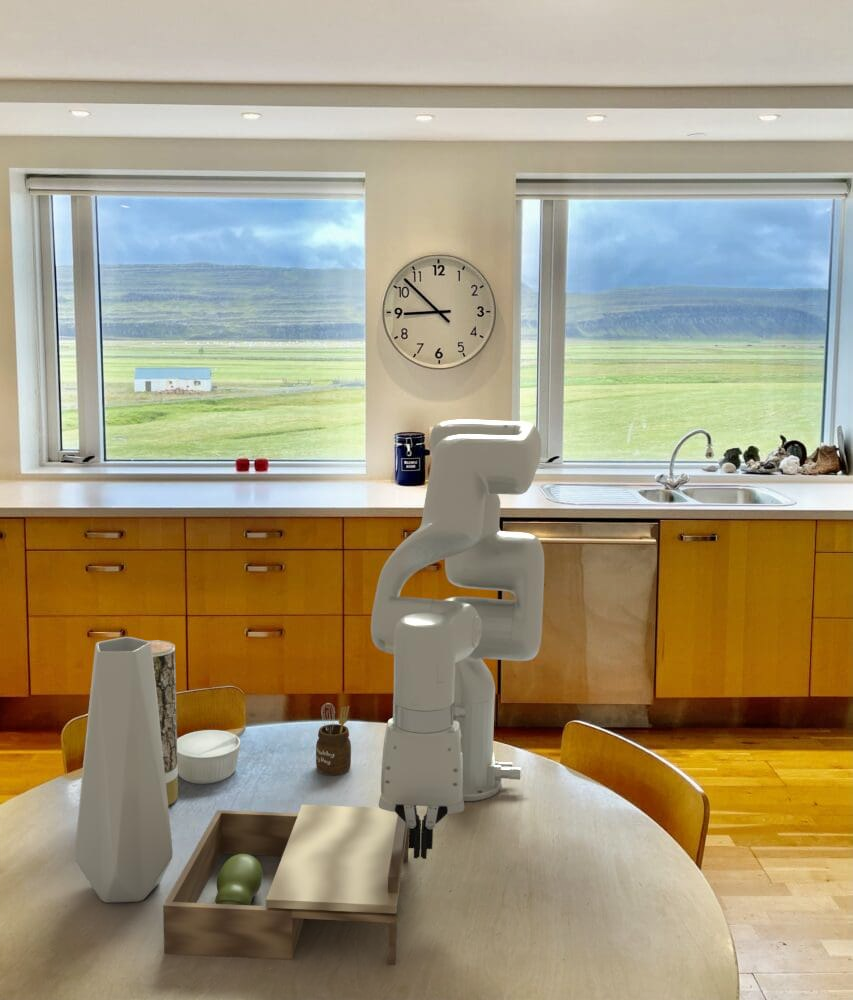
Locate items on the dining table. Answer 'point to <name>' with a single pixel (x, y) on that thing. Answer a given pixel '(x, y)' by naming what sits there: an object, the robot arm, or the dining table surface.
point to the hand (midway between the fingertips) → (420, 852)
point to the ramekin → (207, 756)
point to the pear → (238, 880)
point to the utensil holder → (334, 747)
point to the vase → (123, 777)
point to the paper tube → (167, 711)
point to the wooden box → (244, 924)
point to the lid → (341, 861)
